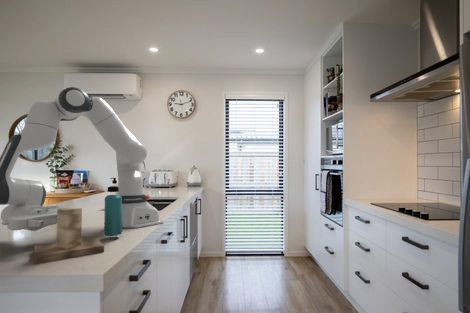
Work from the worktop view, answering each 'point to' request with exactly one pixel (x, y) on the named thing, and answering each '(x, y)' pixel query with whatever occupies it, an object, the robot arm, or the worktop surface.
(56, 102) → the robot arm
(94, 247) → the walnut board
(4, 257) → the worktop surface
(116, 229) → the beverage bottle
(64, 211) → the oak block
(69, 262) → the worktop surface
